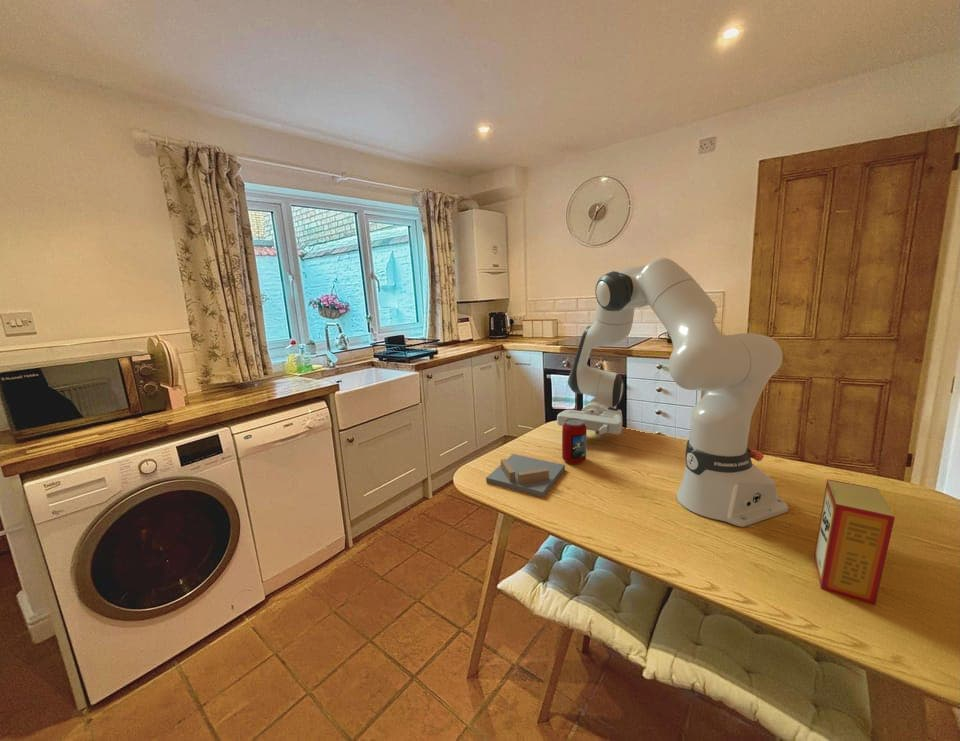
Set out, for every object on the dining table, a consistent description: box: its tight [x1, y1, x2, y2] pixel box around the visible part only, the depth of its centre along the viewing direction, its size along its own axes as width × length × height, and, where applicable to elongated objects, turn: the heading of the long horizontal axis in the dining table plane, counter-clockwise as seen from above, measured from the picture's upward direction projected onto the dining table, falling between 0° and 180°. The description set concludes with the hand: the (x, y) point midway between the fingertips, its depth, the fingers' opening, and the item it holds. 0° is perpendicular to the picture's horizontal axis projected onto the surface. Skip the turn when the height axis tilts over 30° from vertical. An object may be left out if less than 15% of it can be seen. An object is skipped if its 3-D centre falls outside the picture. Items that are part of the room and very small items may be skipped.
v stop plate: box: [485, 453, 566, 499], centre depth 106 cm, size 16×16×4 cm
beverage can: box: [561, 418, 587, 465], centre depth 113 cm, size 7×7×12 cm
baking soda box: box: [813, 478, 896, 606], centre depth 66 cm, size 10×6×16 cm
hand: (582, 429), depth 119 cm, fingers open, 8 cm apart
